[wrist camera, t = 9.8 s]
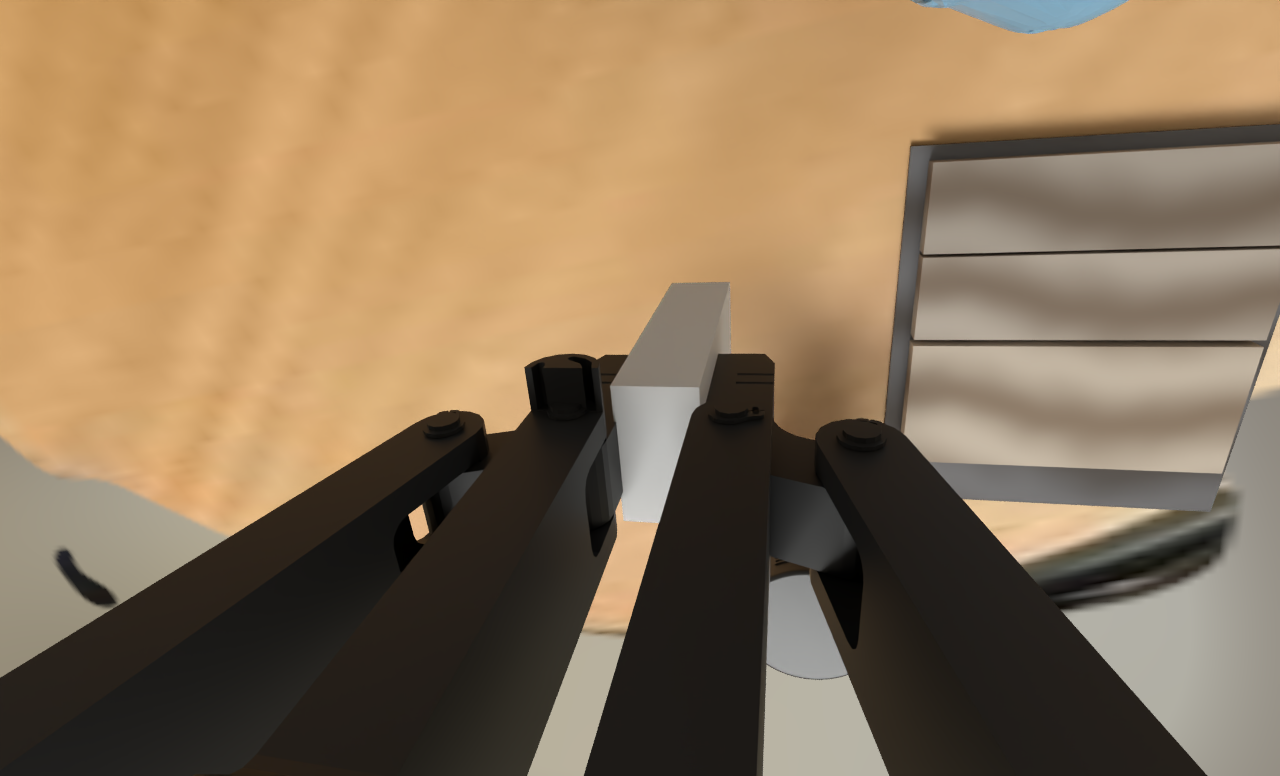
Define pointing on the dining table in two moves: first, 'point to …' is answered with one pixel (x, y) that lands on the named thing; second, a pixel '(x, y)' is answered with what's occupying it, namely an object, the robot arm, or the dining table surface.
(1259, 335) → the grey flat panel
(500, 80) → the dining table surface
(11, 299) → the dining table surface
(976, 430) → the plank
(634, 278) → the dining table surface
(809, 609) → the jar
